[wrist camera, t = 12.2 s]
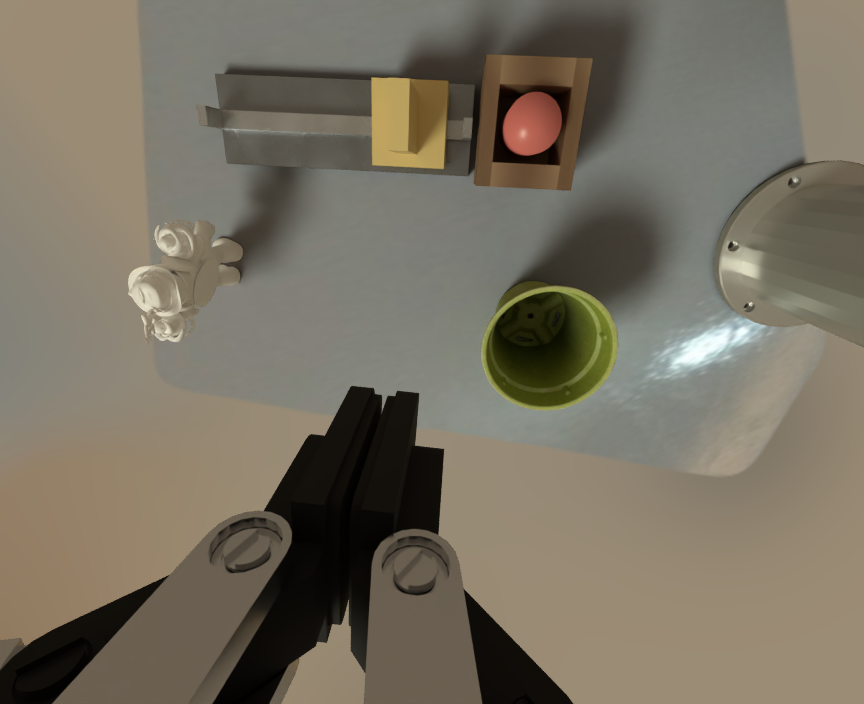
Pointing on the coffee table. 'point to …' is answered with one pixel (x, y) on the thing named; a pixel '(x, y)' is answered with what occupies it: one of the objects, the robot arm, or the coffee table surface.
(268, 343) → the coffee table surface
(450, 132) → the rail
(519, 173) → the wooden box
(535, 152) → the plunger
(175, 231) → the flower shoulder figurine
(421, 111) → the carriage
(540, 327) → the plant pot
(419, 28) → the coffee table surface
